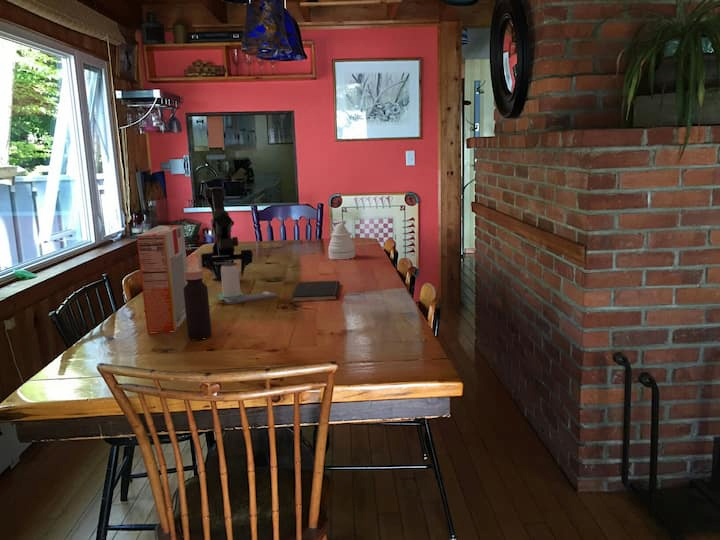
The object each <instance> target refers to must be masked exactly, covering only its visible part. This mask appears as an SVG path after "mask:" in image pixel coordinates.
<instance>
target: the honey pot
mask: <svg viewBox="0 0 720 540" xmlns="http://www.w3.org/2000/svg"><path fill="white" fill-rule="evenodd" d="M345 225H347V220H340V223H337V225H336V226H335V228H334V230H333V232H332V233H330V235H331V237H330V238H331V239H330V240H329V244H328V245H329V246H328V248H327V249H328V259H329V258H330V259H329V260H332V259H347V260H350V259H349V258H352V259H354V258H353V257H356V251H355V247H356V246H355V245H354V241H353V239H352V232H351V231H349V230H348V228H347V227H346V226H345Z"/></svg>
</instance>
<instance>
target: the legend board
mask: <svg viewBox="0 0 720 540" xmlns="http://www.w3.org/2000/svg"><path fill="white" fill-rule="evenodd" d="M273 298H277V295H276V293H274V292H273V291H261V293H252V294H246V295H244V296H239V297H234V296H231V297H229V298H225V299H224V301H225V302H224V301H223V302H224V303H225V304H227V305H232V304H234V305H235V304H240V303H246V302H252V301H260V300H265V299H266V300H267V299H273Z"/></svg>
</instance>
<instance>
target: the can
mask: <svg viewBox="0 0 720 540" xmlns="http://www.w3.org/2000/svg"><path fill="white" fill-rule="evenodd" d="M239 272H240V269H239V266H238V264H237V263H236V262H234V263H225V264H222V267H221V280H222V281H221V290H222V294H223V296H224V297H225V298H229V297H231V296H234V297H238V296H240V292H241V284H240V273H239Z"/></svg>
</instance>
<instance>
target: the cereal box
mask: <svg viewBox="0 0 720 540" xmlns="http://www.w3.org/2000/svg"><path fill="white" fill-rule="evenodd" d="M136 246H137V254H138V261H139V270H140V279H141V286H142V287H141V289H142V296H143V305H144V313H145V322H146V323H145V324H146V331H147V332H146V333H147V334H148V333H150V332H170V331H175V330H176V329H177V327H178V326H179V325H180V324H181V323H182V321H183V320H184V319H185V318H186V311H185V301H184V291H183V289H184V287H185V286H186V285H187V281H186V277H185V271H187V270H189V269H188V260H187V251H186V248H187V247H186V241H185V229H184V224H172V225H171V224H170V225H166V224H165V225H158V226H155V227H152V228H151V229H149V230H146V231H144V232H142V233H140V234H138V235H136ZM185 320H186V319H185ZM185 320H184V321H185ZM182 324H183V323H182ZM182 324H181V325H182ZM181 325H180V326H181ZM180 326H179V327H180ZM177 330H178V329H177ZM177 330H176V331H177ZM176 331H175V332H176Z"/></svg>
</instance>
